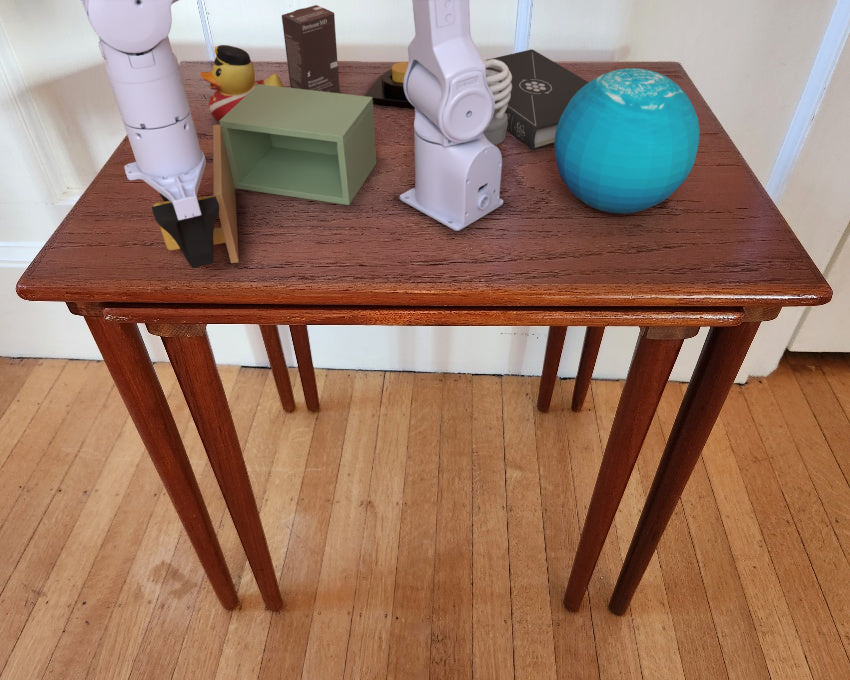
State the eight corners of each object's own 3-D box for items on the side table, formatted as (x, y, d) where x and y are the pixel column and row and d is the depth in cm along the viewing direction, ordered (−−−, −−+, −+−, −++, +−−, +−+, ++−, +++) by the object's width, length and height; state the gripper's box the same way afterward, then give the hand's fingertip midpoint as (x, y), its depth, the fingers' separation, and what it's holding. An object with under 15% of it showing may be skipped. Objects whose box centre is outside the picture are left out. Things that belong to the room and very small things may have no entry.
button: (420, 75, 99) (419, 63, 98) (413, 85, 96) (412, 73, 95) (396, 72, 100) (395, 60, 98) (388, 82, 97) (388, 70, 96)
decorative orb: (534, 173, 83) (548, 48, 73) (653, 166, 84) (684, 42, 74) (563, 245, 73) (585, 111, 62) (700, 236, 74) (744, 103, 63)
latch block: (444, 87, 101) (445, 69, 99) (430, 111, 96) (430, 91, 94) (381, 80, 103) (380, 62, 101) (363, 103, 98) (362, 84, 96)
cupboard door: (170, 272, 70) (146, 202, 64) (175, 197, 80) (155, 131, 74) (238, 262, 71) (221, 192, 65) (235, 189, 81) (220, 124, 75)
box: (310, 111, 96) (298, 22, 88) (291, 101, 98) (278, 14, 90) (343, 98, 99) (335, 11, 91) (324, 89, 101) (314, 3, 93)
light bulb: (456, 162, 85) (459, 66, 77) (468, 141, 89) (471, 48, 81) (501, 168, 84) (508, 72, 76) (510, 147, 88) (518, 53, 80)
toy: (208, 110, 97) (190, 38, 90) (282, 98, 99) (271, 27, 92) (217, 139, 90) (199, 64, 83) (296, 125, 93) (285, 51, 86)
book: (447, 88, 101) (448, 68, 99) (530, 68, 106) (532, 48, 104) (530, 150, 87) (533, 129, 85) (621, 124, 92) (625, 103, 90)
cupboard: (349, 205, 79) (342, 136, 73) (234, 188, 81) (219, 120, 75) (376, 163, 85) (372, 96, 80) (270, 148, 88) (258, 84, 82)
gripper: (100, 90, 63) (143, 215, 72) (118, 162, 53) (165, 295, 63) (177, 77, 65) (210, 200, 74) (209, 143, 55) (241, 275, 65)
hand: (194, 242), depth 69 cm, fingers open, 7 cm apart
